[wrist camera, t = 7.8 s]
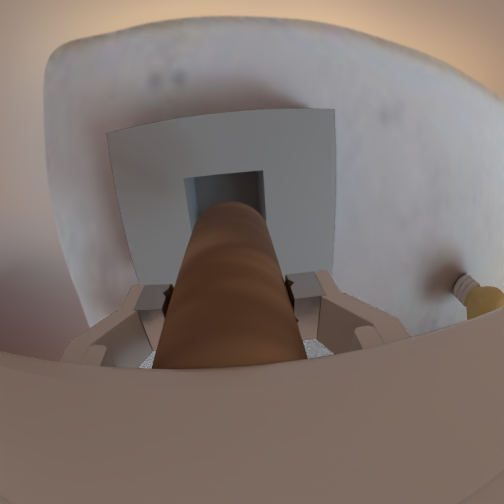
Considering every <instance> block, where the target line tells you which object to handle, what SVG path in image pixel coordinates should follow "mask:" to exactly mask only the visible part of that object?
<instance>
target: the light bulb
mask: <svg viewBox="0 0 504 504" xmlns="http://www.w3.org/2000/svg"><path fill="white" fill-rule="evenodd" d="M454 296H455V297H456V298H457V299H458V300H459V301H460V302H461V303H462V304H463V305H464V306H466V307H467V318H468V320H470V319H472V318H475V317H478V316H481V315H483V314H486V313H488V312H491V311H493V310H496V309H498V308H501V307H503V306H504V293H503V292H502V291H501V290H499V289H498V288H495V287H491V286H486V287H481V286H480V284H479V283H478V282H476V281H475V280H474V279H473V278H472V277H471V276H470V275H464V276H462V277H460V278H459V279H458V280H457V282H456V284H455V286H454Z"/></svg>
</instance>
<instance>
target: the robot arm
mask: <svg viewBox="0 0 504 504" xmlns="http://www.w3.org/2000/svg"><path fill="white" fill-rule="evenodd" d="M285 285H286V288H287V291H288V294H289V298H290V301H291V304H292V308H293V311H294V314H295V318H296V321H297V324H298V328H299V331H300V334H301V338H302V340H309V339H317V340H318V341H319V342H321V343H322V344H323V345H324V346H325V347H327V348H328V349H329V350H330V351H331V352H333V353H334V354H335V355H329V356H323V357H317V358H310V359H303V360H296V361H288V362H280V363H271V364H261V365H250V366H238V367H222V368H199V369H141V368H138V367H139V366H140V365H141V364H142V363H143V362H144V361H145V359H146V358H147V357H148V356H149V355H150V354H151V353H152V351H156V350H157V346H158V342H159V339H160V335H161V331H162V328H163V324H164V320H165V317H166V313H167V310H168V306H169V303H170V300H171V296H172V293H173V290H174V287H173V285H172V284H155V285H136V286H132V287H131V289H130V291H129V293H128V295H127V297H126V299H125V301H124V303H123V305H122V307H121V309H120V311H115V312H114V313H112V314H111V315H109V316H108V317H106V318H105V319H103V320H102V321H100V322H99V323H97V324H96V325H94V326H93V327H91V328H90V329H88V330H87V331H86V332H84V333H83V334H81V335H80V336H78V337H77V338H76V339H74V340H73V341H71V342H70V343H69V345H68V346H67V348H66V350H65V352H64V354H63V356H62V358H61V360H60V362H56V361H50V360H43V359H37V358H31V357H25V356H20V355H15V354H11V353H5V352H1V351H0V504H504V306H503V307H501V308H498V309H496V310H493V311H491V312H488V313H486V314H483V315H481V316H478V317H475V318H472V319H470V320H467V321H464V322H461V323H458V324H455V325H452V326H449V327H446V328H443V329H439V330H436V331H433V332H429V333H426V334H422V335H419V336H415V337H412V338H411V337H410V336H409V334H408V333H407V331H406V330H405V328H404V327H403V325H402V324H401V322H400V321H399V320H398V319H397V318H395V317H393V316H391V315H389V314H387V313H385V312H383V311H381V310H379V309H377V308H375V307H373V306H371V305H369V304H366V303H364V302H362V301H360V300H358V299H356V298H354V297H352V296H350V295H348V294H346V293H342V294H341V293H340V291H339V289H338V287H337V286H336V284H335V282H334V281H333V279H332V277H331V276H330V274H329V272H328V271H327V270H319V271H312V272H304V273H296V274H288V275H285Z"/></svg>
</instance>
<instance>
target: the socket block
mask: <svg viewBox="0 0 504 504" xmlns="http://www.w3.org/2000/svg"><path fill="white" fill-rule="evenodd" d="M107 140H108V147H109V154H110V161H111V167H112V173H113V178H114V184H115V189H116V194H117V199H118V204H119V209H120V213H121V218H122V222H123V226H124V230H125V235H126V239H127V242H128V246H129V250H130V254H131V258H132V261H133V265H134V268H135V272H136V275H137V278H138V282H139V285H155V284H172V285H173V287H174V286H175V283H176V280H177V277H178V273H179V270H180V267H181V264H182V261H183V258H184V255H185V252H186V249H187V246H188V243H189V240H190V237H191V234H192V231H193V228H194V225H195V223H196V221H197V219H198V217H199V216H200V215H201V214H202V212H203V211H205V210H206V209H207V208H209V207H210V206H212V205H214V204H216V203H220V202H225V201H237V202H241V203H244V204H247V205H249V206H251V207H253V208H254V209H255V210H257V211H258V212H259V213H260V215H261V216H262V217H263V219H264V220H265V222H266V225H267V228H268V231H269V234H270V237H271V240H272V243H273V246H274V250H275V253H276V256H277V259H278V262H279V265H280V269H281V272H282V275H283V278H284V281H285V275H288V274H296V273H304V272H312V271H319V270H327V271H328V272H329V274H330V276H331V277H332V264H333V249H334V231H335V204H336V135H335V109H313V108H290V109H260V110H245V111H232V112H222V113H213V114H204V115H197V116H190V117H183V118H177V119H171V120H165V121H159V122H154V123H149V124H144V125H139V126H135V127H130V128H126V129H122V130H118V131H114V132H110V133H107Z"/></svg>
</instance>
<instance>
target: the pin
mask: <svg viewBox="0 0 504 504" xmlns="http://www.w3.org/2000/svg"><path fill="white" fill-rule="evenodd" d="M303 359H308V358H307V355H306V351H305V348H304V345H303V341H302V338H301V334H300V331H299V328H298V324H297V321H296V318H295V314H294V311H293V308H292V304H291V301H290V298H289V294H288V291H287V288H286V285H285V281H284V278H283V275H282V272H281V269H280V265H279V262H278V259H277V256H276V253H275V250H274V246H273V243H272V240H271V237H270V234H269V231H268V228H267V225H266V222H265V220H264V219H263V217H262V216H261V215H260V213H259V212H258V211H257V210H255V209H254V208H253V207H251V206H249V205H247V204H244V203H241V202H237V201H225V202H220V203H216V204H214V205H212V206H210V207H209V208H207V209H206V210H205V211H203V212H202V214H201V215H200V216H199V217H198V219H197V221H196V223H195V225H194V228H193V231H192V234H191V237H190V240H189V243H188V246H187V249H186V252H185V255H184V258H183V261H182V264H181V267H180V270H179V273H178V277H177V280H176V283H175V286H174V290H173V293H172V296H171V300H170V303H169V306H168V310H167V313H166V317H165V320H164V324H163V328H162V331H161V335H160V339H159V342H158V346H157V350H156V354H155V358H154V362H153V366H152V369H199V368H222V367H238V366H250V365H261V364H271V363H280V362H288V361H296V360H303Z"/></svg>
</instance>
